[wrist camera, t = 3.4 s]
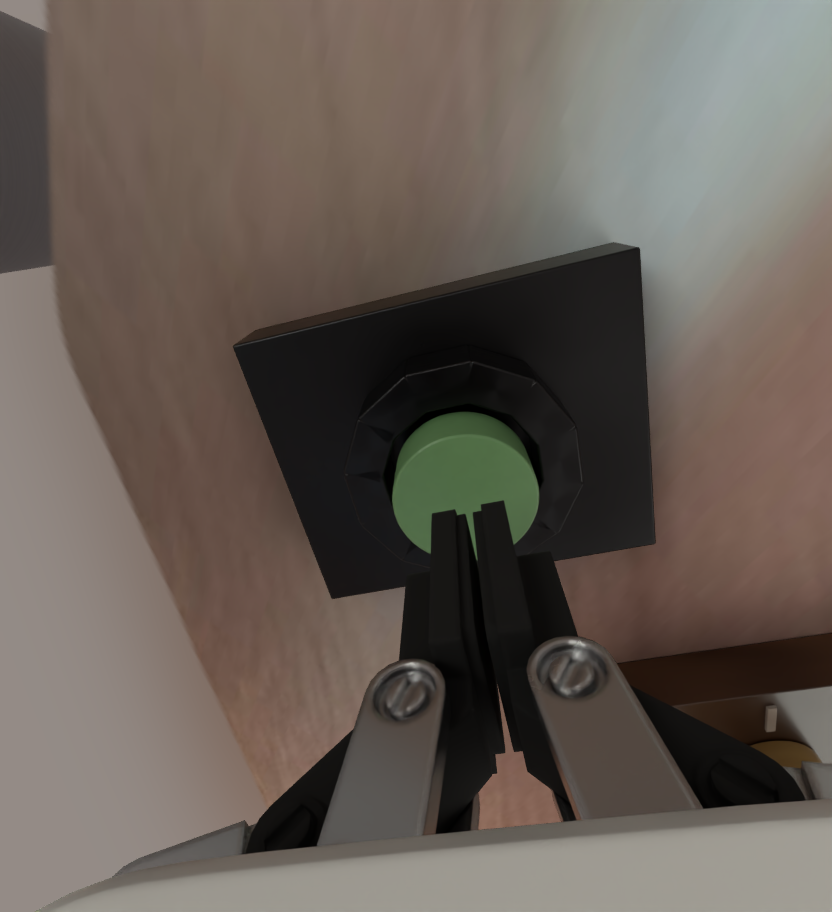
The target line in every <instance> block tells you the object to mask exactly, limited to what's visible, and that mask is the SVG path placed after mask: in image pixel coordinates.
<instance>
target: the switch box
mask: <svg viewBox="0 0 832 912" xmlns="http://www.w3.org/2000/svg"><path fill="white" fill-rule="evenodd" d="M233 348H234V351H235V353H236V356H237V358H238V361H239V364H240V366H241V369H242V371H243V374H244V376H245V379H246V381H247V384H248V387H249V389H250V392H251V394H252V397H253V399H254V402H255V404H256V407H257V409H258V412H259V415H260V417H261V420H262V422H263V425H264V427H265V430H266V432H267V435H268V438H269V440H270V443H271V445H272V448H273V450H274V453H275V455H276V458H277V460H278V463H279V466H280V468H281V471H282V473H283V476H284V478H285V481H286V483H287V486H288V488H289V491H290V494H291V496H292V499H293V501H294V504H295V506H296V509H297V511H298V514H299V517H300V519H301V522H302V524H303V527H304V529H305V532H306V534H307V537H308V539H309V542H310V545H311V547H312V550H313V552H314V555H315V557H316V560H317V562H318V565H319V568H320V570H321V573H322V575H323V578H324V580H325V583H326V585H327V588H328V590H329V593H330V596H331V598H332V599H335V598H341V597H347V596H353V595H359V594H365V593H370V592H376V591H382V590H388V589H394V588H400V587H406V579H407V576H408V574H414V573H420V572H426V571H430V559H431V554H430V553H427V552H426V551H424V550H422V549H421V548H419V547H418V546H417V545H415V544H414V543H413V542H412V541H411V540H410V539H409V538H408V537H407V536H406V535H405V533H404V532H403V531H402V529H401V528H400V526H399V524H398V522H397V520H396V517H395V514H394V510H393V503H392V494H393V485H394V478H395V472H396V465H397V460H398V456H399V453H400V451H401V449H402V447H403V445H404V443H405V442H406V440H407V439H408V438H409V436H410V435H411V434H412V433H413V432H414V431H415V430H416V429H417V428H419V427H420V426H421V425H423V424H424V423H426V422H427V421H429V420H431V419H433V418H436V417H438V416H441V415H444V414H448V413H454V412H475V413H480V414H485V415H488V416H490V417H493V418H495V419H497V420H499V421H501V422H503V423H504V424H505V425H507V426H508V427H509V428H510V429H512V430H513V431H514V432H515V433H516V435H517V436H518V437H519V438H520V440H521V441H522V443H523V445H524V447H525V449H526V452H527V454H528V457H529V459H530V462H531V465H532V467H533V470H534V473H535V475H536V478H537V482H538V486H539V505H538V509H537V513H536V516H535V518H534V521H533V522H532V524H531V526H530V528H529V529H528V531H527V532H526V533H525V535H524V536H523V537H522V538H521V539H520V540H519V541H518V542H516V543H515V544H514V548H515V553H516V556H521V555H527V554H533V553H539V552H545V551H550V552H551V554H552V557H553V560H554V561H558V560H564V559H570V558H576V557H581V556H587V555H593V554H599V553H605V552H611V551H617V550H622V549H628V548H634V547H640V546H646V545H652V544H655V543H656V540H655V521H654V502H653V484H652V465H651V446H650V428H649V409H648V390H647V372H646V353H645V334H644V316H643V297H642V278H641V260H640V249H639V247H634V246H629V245H624V244H620V243H614V242H613V243H609V244H605V245H601V246H597V247H593V248H589V249H584V250H580V251H576V252H572V253H568V254H564V255H560V256H556V257H552V258H548V259H544V260H540V261H536V262H531V263H527V264H523V265H519V266H515V267H511V268H507V269H503V270H499V271H495V272H491V273H487V274H483V275H478V276H474V277H470V278H466V279H462V280H458V281H454V282H450V283H446V284H442V285H438V286H434V287H429V288H425V289H421V290H417V291H413V292H409V293H405V294H401V295H397V296H393V297H389V298H385V299H381V300H376V301H372V302H368V303H364V304H360V305H356V306H352V307H348V308H344V309H340V310H336V311H332V312H328V313H323V314H319V315H315V316H311V317H307V318H303V319H299V320H295V321H291V322H287V323H283V324H279V325H275V326H270V327H266V328H262V329H258V330H255V331H254V332H252V333H251V334H249V335H248V336H247V337H245V338H244V339H242V340H241V341H239V342H238V343H237V344H235V345H234V346H233ZM477 564H478V560H477ZM478 569H479V568H478Z"/></svg>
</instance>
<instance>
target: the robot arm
mask: <svg viewBox="0 0 832 912" xmlns="http://www.w3.org/2000/svg"><path fill="white" fill-rule="evenodd" d="M473 522H474V531H475V540H476V549H477V559H478V564H477V560H476V556H475V552H474V547H473V543H472V539H471V534H470V530H469V526H468V521H467V517H466V514H460V515H457V513H456V510H455V509H453V510H448V511H442V512H437V513H432V520H431V559H430V571H426V572H420V573H414V574H408V576H407V579H406V588H405V599H404V611H403V622H402V633H401V644H400V655H399V661H397V662H395V663H392V664H390V665H388V666H387V667H385V668H384V669H382V670H381V671H379V672H378V673H377V675H376V676H375V677H374V678H373V679H372V680H371V682H370V684H369V686H368V688H367V690H366V692H365V695H364V698H363V701H362V704H361V708H360V711H359V714H358V717H357V720H356V723H355V726H354V729H353V730H352V731H351V732H350V733H349V734H348V735H347V736H345V737H344V738H343V739H342V740H341V741H340V742H339V743H338V744H337V745H336V746H335V747H334V748H333V749H331V750H330V751H329V752H328V753H327V754H326V755H325V756H324V757H323V758H322V759H321V760H320V761H319V762H317V763H316V764H315V765H314V766H313V767H312V768H311V769H310V770H309V771H308V772H307V773H306V774H305V775H303V776H302V777H301V778H300V779H299V780H298V781H297V782H296V783H295V784H294V785H293V786H292V787H291V788H289V789H288V790H287V791H286V792H285V793H284V794H283V795H282V796H281V797H280V798H279V799H278V800H277V801H275V802H274V803H273V804H272V805H271V806H270V807H269V808H268V810H267V811H266V812H265V813H264V814H263V815H262V816H261V818H260V819H259V821H258V822H257V823H256V824H254V825H251V826H248V824H247V823H246V821H245V820H244V821H241V822H239V823H236V824H233V825H230V826H228V827H225V828H222V829H219V830H216V831H214V832H211V833H208V834H205V835H203V836H200V837H197V838H194V839H192V840H188V841H186V842H183V843H180V844H178V845H175V846H172V847H169V848H166V849H163V850H161V851H158V852H155V853H152V854H149V855H147V856H144V857H141V858H139V859H137V860H135V861H133V862H131V863H129V864H128V865H126V866H124V867H123V868H122V869H120V870H119V871H118V872H117V873H116V874H115V875H114V876H113V877H112V878H109V879H106V880H104V881H101V882H98V883H96V884H93V885H90V886H88V887H85V888H83V889H80V890H77V891H75V892H72V893H70V894H68V895H66V896H65V897H62V898H60V899H58V900H56V901H54V902H53V903H51V904H49V905H47V906H45V907H43V908H41V909H39V910H37V911H35V912H832V764H829V763H819V762H809V761H802V763H801V768H793V767H784V766H781V765H780V764H779V763H778V762H776V761H775V760H773V759H771V758H770V757H768V756H767V755H765V754H764V753H762V752H760V751H758V750H756V749H755V748H753V747H751V746H749V745H747V744H745V743H743V742H741V741H739V740H737V739H735V738H733V737H731V736H729V735H727V734H725V733H723V732H721V731H719V730H717V729H715V728H713V727H711V726H709V725H707V724H705V723H704V722H702V721H700V720H698V719H696V718H694V717H692V716H690V715H688V714H686V713H684V712H682V711H680V710H678V709H676V708H674V707H672V706H670V705H668V704H666V703H664V702H662V701H660V700H658V699H656V698H654V697H652V696H651V695H649V694H647V693H645V692H643V691H641V690H639V689H637V688H635V687H633V686H631V685H629V684H628V682H627V680H626V679H625V677H624V675H623V674H622V672H621V670H620V669H619V667H618V665H617V664H616V662H615V660H614V659H613V657H612V656H611V655H610V654H609V652H608V651H607V650H606V649H605V648H604V647H602V646H601V645H599V644H598V643H596V642H595V641H592V640H589V639H586V638H583V637H578V635H577V631H576V628H575V625H574V622H573V619H572V616H571V613H570V610H569V607H568V604H567V601H566V597H565V594H564V591H563V588H562V585H561V582H560V579H559V576H558V573H557V570H556V566H555V563H554V560H553V557H552V554H551V552H550V551H545V552H539V553H533V554H527V555H521V556H516V553H515V548H514V544H513V539H512V535H511V530H510V525H509V521H508V516H507V512H506V507H505V503H504V500H502V501H497V502H491V503H486V504H481V511H477V512H473ZM478 568H479V569H478ZM497 684H498V686H497ZM498 688H499V692H500V696H501V700H502V704H503V708H504V713H505V717H506V721H507V725H508V729H509V733H510V738H511V742H512V746H513V750H514V752H519V751H523V754H524V758H525V763H526V767H527V771H528V772H529V773H530V774H532V775H533V776H534V777H536V778H537V779H538V780H540V781H541V782H542V783H544V784H545V785H546V786H548V787H549V788H550V789H551V791H552V796H553V801H554V804H555V806H556V809H557V812H558V815H559V818H560V821H561V822H557V823H546V824H536V825H526V826H515V827H505V828H495V829H484V830H478V826H479V813H480V802H479V794H478V792H479V791H480V789H481V788H482V787H483V786H484V785H485V783H486V782H487V781H488V780H489V778H490V777H491V776H492V774H497V767H496V757H495V754H501V753H505V744H504V736H503V728H502V719H501V711H500V703H499V694H498Z"/></svg>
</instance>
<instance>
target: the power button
mask: <svg viewBox="0 0 832 912" xmlns="http://www.w3.org/2000/svg"><path fill="white" fill-rule="evenodd" d="M502 500H504V503H505V507H506V512H507V516H508V521H509V525H510V530H511V535H512V539H513V544H515V543H516V542H518V541H519V540H520V539H521V538H522V537H523V536H524V535H525V533H526V532H527V531H528V529H529V528H530V526H531V524H532V522H533V521H534V518H535V516H536V513H537V509H538V505H539V486H538V482H537V478H536V475H535V473H534V470H533V467H532V465H531V462H530V459H529V457H528V454H527V452H526V449H525V447H524V445H523V443H522V441H521V440H520V438H519V437H518V436H517V435H516V433H515V432H514V431H513V430H512V429H510V428H509V427H508V426H507V425H505V424H504V423H503V422H501V421H499V420H497V419H495V418H493V417H490V416H488V415H485V414H480V413H475V412H454V413H448V414H444V415H441V416H438V417H436V418H433V419H431V420H429V421H427V422H426V423H424V424H423V425H421V426H420V427H419V428H417V429H416V430H415V431H414V432H413V433H412V434H411V435H410V436H409V438H408V439H407V440H406V442H405V443H404V445H403V447H402V449H401V451H400V453H399V456H398V460H397V465H396V472H395V478H394V485H393V494H392V503H393V510H394V514H395V517H396V520H397V522H398V524H399V526H400V528H401V529H402V531H403V532H404V533H405V535H406V536H407V537H408V538H409V539H410V540H411V541H412V542H413V543H414V544H415V545H417V546H418V547H419V548H421V549H422V550H424V551H426V552H427V553H430V554H431V520H432V513H437V512H442V511H448V510H453V509H455V510H456V513H457V515H460V514H466V517H467V521H468V526H469V530H470V534H471V539H472V543H473V547H474V552H475V556H476V560H478V559H477V549H476V540H475V531H474V522H473V512H477V511H481V504H486V503H491V502H497V501H502Z"/></svg>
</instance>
